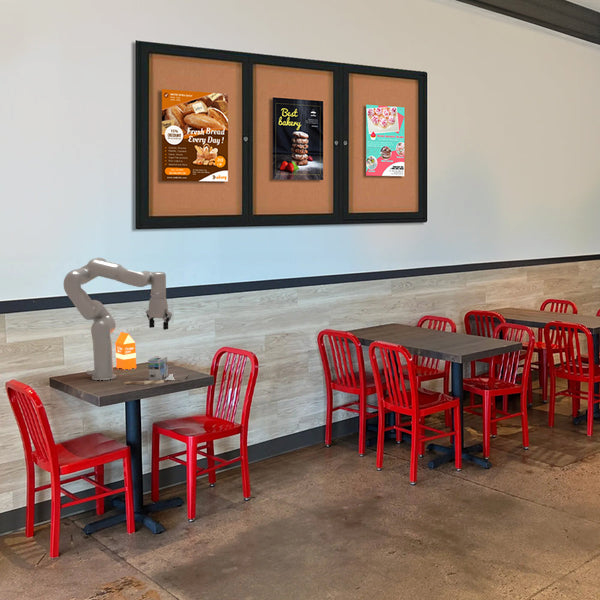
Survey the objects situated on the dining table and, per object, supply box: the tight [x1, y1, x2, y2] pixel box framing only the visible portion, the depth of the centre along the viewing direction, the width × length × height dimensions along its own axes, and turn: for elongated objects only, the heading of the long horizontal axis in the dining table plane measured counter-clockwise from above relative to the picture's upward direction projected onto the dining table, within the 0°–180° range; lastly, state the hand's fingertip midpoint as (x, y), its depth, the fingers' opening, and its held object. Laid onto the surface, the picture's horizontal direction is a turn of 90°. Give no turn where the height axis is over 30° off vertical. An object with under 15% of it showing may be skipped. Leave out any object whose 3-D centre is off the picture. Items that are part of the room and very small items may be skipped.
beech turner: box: [123, 379, 165, 386], centre depth 386 cm, size 20×6×1 cm, turn 102°
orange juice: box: [115, 331, 137, 371], centre depth 422 cm, size 8×9×20 cm
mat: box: [164, 373, 175, 380], centre depth 398 cm, size 10×14×1 cm
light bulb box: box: [147, 355, 169, 381], centre depth 397 cm, size 11×7×11 cm, turn 168°
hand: (158, 328), depth 394 cm, fingers open, 9 cm apart
